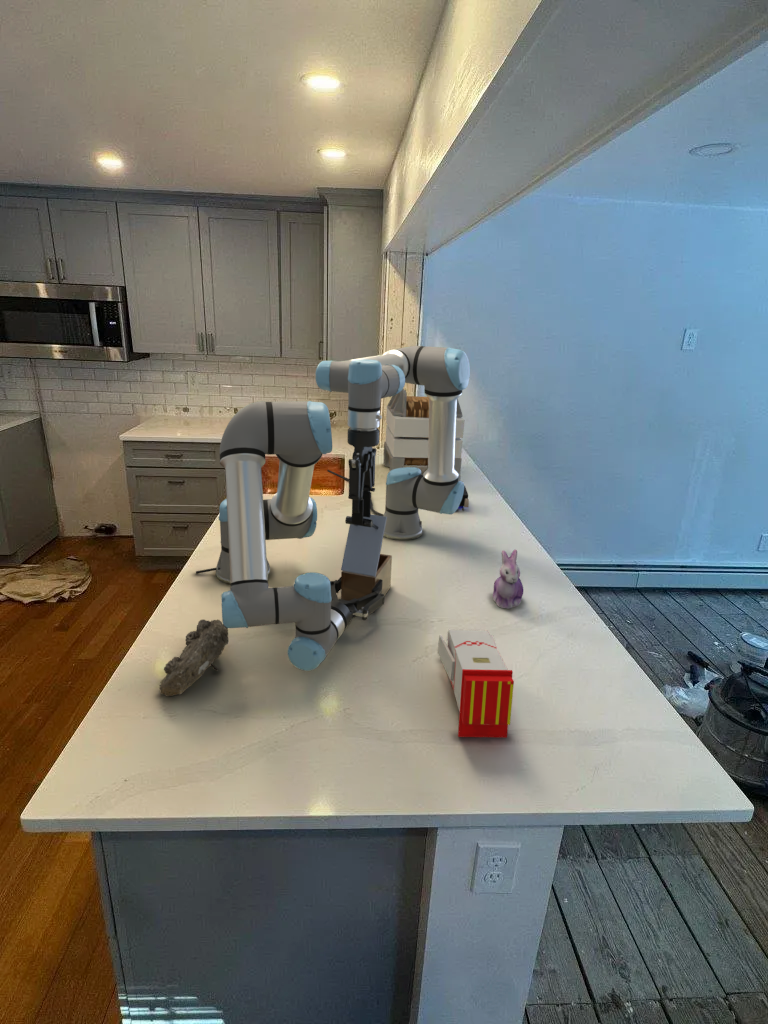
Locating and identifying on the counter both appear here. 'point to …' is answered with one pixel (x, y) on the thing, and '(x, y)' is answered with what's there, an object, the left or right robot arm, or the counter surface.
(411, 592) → the counter surface
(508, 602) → the figurine
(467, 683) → the toy
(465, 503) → the figurine character
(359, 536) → the lid
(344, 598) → the chest
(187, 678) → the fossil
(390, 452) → the white slatted crate
